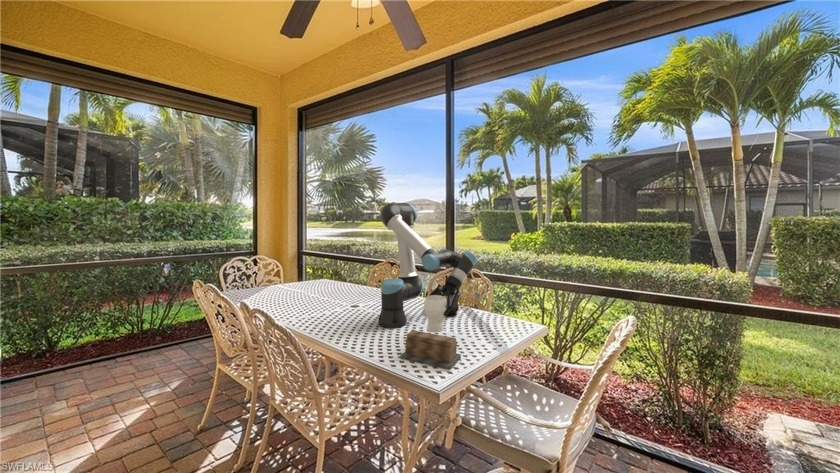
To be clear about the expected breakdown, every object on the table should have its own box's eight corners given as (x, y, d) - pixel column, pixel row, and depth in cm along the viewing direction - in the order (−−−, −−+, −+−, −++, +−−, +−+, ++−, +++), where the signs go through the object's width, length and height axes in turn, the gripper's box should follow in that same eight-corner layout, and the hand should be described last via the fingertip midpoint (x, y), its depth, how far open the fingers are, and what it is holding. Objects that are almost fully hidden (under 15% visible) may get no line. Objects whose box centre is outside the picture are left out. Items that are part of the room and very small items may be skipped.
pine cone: (429, 311, 209) (429, 294, 208) (458, 312, 207) (459, 295, 206) (427, 316, 199) (427, 299, 198) (458, 317, 197) (459, 300, 196)
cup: (445, 334, 155) (446, 302, 154) (421, 332, 157) (422, 300, 156) (447, 326, 166) (448, 295, 164) (425, 324, 168) (426, 294, 166)
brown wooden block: (400, 358, 145) (400, 336, 144) (414, 347, 156) (414, 327, 155) (450, 369, 135) (450, 346, 134) (460, 357, 146) (461, 335, 145)
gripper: (477, 289, 160) (452, 329, 152) (442, 279, 178) (418, 315, 170) (470, 279, 156) (444, 320, 148) (435, 270, 174) (410, 307, 166)
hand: (430, 318), depth 159 cm, fingers closed on cup, 11 cm apart
